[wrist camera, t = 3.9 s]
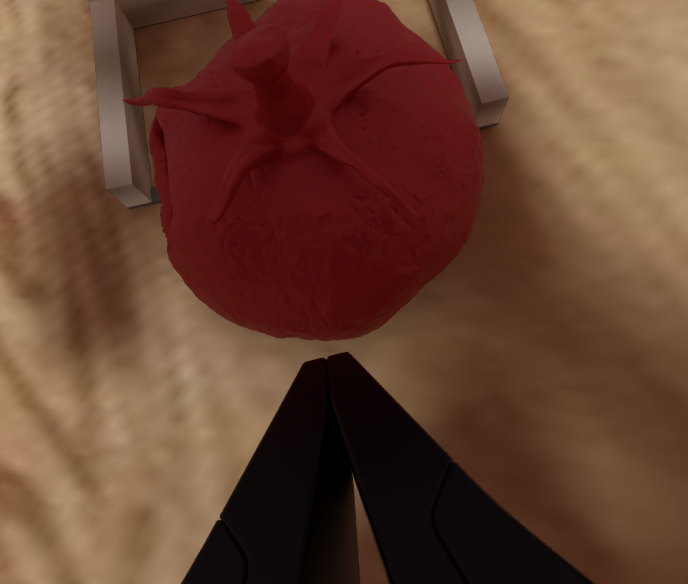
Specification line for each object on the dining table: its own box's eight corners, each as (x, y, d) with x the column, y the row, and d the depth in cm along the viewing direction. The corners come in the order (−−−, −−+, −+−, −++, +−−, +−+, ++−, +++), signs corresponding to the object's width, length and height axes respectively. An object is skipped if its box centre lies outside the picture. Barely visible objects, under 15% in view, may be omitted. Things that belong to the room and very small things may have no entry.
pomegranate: (498, 162, 17) (638, -103, 8) (387, 402, 15) (408, 403, 6) (274, 74, 19) (183, -230, 10) (148, 282, 17) (-108, 144, 8)
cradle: (497, 124, 18) (527, 54, 14) (128, 208, 18) (68, 160, 14) (431, -62, 20) (442, -159, 17) (109, 13, 20) (55, -69, 17)
